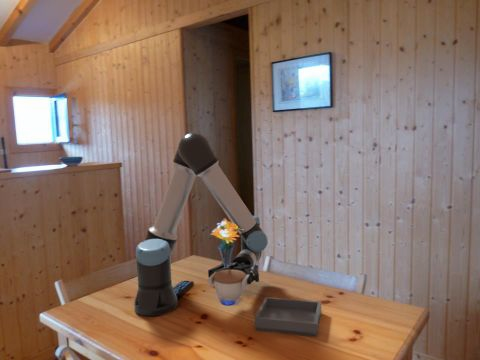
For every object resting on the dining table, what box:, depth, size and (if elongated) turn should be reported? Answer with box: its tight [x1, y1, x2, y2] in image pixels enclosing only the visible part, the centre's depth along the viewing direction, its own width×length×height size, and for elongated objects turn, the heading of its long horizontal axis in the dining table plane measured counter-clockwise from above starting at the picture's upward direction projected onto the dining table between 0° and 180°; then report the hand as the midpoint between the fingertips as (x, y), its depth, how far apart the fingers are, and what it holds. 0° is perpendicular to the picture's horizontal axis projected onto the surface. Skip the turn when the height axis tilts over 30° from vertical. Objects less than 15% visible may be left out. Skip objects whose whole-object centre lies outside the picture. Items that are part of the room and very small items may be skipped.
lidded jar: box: [213, 269, 246, 302], centre depth 131 cm, size 11×11×9 cm
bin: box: [254, 296, 322, 338], centre depth 126 cm, size 19×16×4 cm
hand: (226, 284), depth 127 cm, fingers closed on lidded jar, 11 cm apart
